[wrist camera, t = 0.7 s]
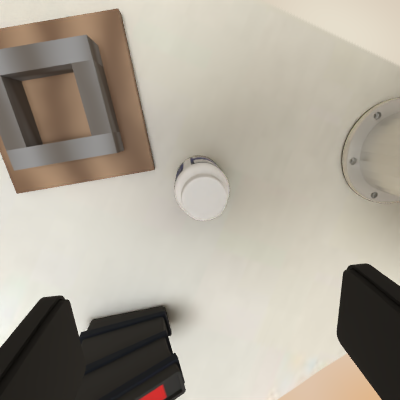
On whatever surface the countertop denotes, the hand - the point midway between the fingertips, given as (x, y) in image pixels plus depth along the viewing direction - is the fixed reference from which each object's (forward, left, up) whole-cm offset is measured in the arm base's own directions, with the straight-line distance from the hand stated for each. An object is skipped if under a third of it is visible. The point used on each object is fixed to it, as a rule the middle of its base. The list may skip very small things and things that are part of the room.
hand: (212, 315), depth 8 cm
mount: (+12, -10, -23) cm, 28 cm away
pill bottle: (-1, 0, -23) cm, 23 cm away
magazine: (+11, +19, -23) cm, 32 cm away
